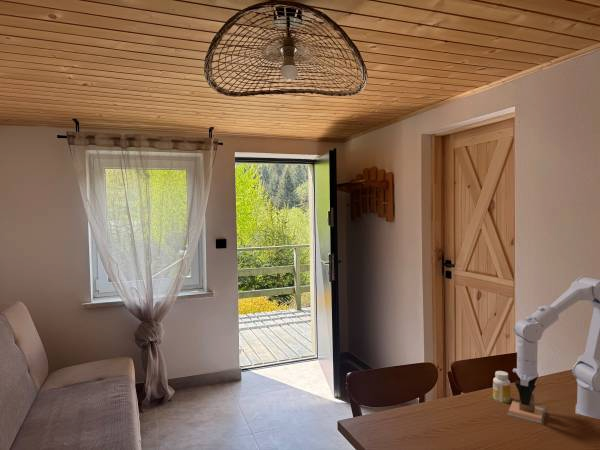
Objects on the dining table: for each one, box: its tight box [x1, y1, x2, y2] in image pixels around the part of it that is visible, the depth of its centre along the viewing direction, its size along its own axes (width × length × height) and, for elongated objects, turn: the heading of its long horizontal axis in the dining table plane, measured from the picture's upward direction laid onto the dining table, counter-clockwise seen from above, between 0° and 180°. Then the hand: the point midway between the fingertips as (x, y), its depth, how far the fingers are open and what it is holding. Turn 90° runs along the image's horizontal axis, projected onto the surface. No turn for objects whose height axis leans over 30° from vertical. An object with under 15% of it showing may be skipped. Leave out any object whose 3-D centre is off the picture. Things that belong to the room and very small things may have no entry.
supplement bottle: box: [492, 370, 511, 403], centre depth 141 cm, size 5×5×10 cm
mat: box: [506, 399, 547, 425], centre depth 133 cm, size 10×13×1 cm
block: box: [518, 389, 536, 413], centre depth 131 cm, size 4×4×6 cm
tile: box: [508, 400, 544, 424], centre depth 131 cm, size 9×1×8 cm
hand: (526, 399), depth 131 cm, fingers open, 7 cm apart
